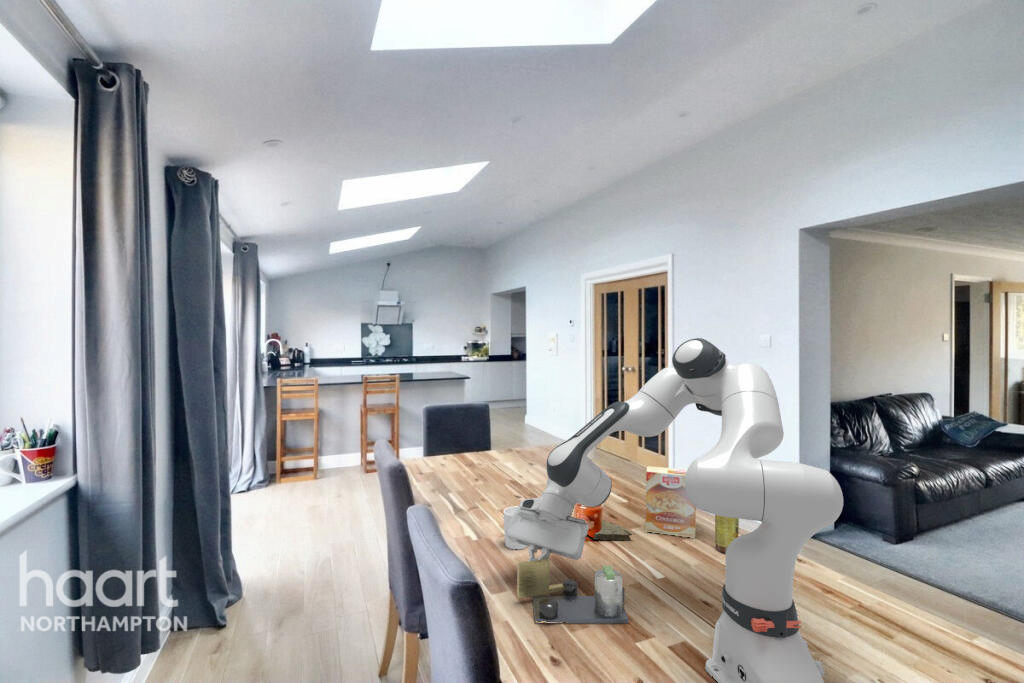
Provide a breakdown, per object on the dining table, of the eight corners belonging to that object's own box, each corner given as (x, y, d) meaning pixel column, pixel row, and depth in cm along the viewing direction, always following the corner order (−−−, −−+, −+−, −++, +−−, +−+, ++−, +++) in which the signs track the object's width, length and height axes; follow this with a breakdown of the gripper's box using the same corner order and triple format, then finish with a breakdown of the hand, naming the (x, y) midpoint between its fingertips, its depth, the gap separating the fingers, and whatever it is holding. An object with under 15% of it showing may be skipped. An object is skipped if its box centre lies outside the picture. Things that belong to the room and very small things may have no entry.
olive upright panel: (573, 588, 116) (573, 552, 116) (579, 595, 112) (580, 559, 112) (515, 597, 111) (515, 560, 111) (520, 605, 108) (520, 567, 108)
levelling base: (633, 624, 102) (634, 579, 101) (535, 624, 101) (535, 579, 101) (621, 599, 112) (622, 557, 111) (532, 598, 111) (533, 557, 111)
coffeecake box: (645, 532, 150) (645, 471, 150) (645, 524, 157) (646, 465, 156) (695, 539, 145) (696, 475, 145) (694, 530, 152) (695, 469, 152)
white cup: (498, 547, 138) (498, 512, 138) (510, 537, 145) (511, 504, 145) (522, 553, 135) (522, 518, 135) (534, 542, 142) (534, 509, 142)
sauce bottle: (741, 556, 134) (742, 486, 134) (717, 553, 136) (718, 484, 135) (735, 546, 141) (736, 479, 141) (712, 544, 142) (713, 477, 142)
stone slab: (547, 521, 157) (550, 506, 157) (570, 518, 165) (572, 504, 165) (616, 552, 138) (619, 534, 138) (638, 547, 146) (640, 530, 146)
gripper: (594, 527, 117) (577, 584, 109) (524, 510, 128) (504, 561, 120) (586, 515, 113) (568, 573, 105) (515, 499, 124) (493, 550, 117)
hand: (533, 566), depth 113 cm, fingers closed
